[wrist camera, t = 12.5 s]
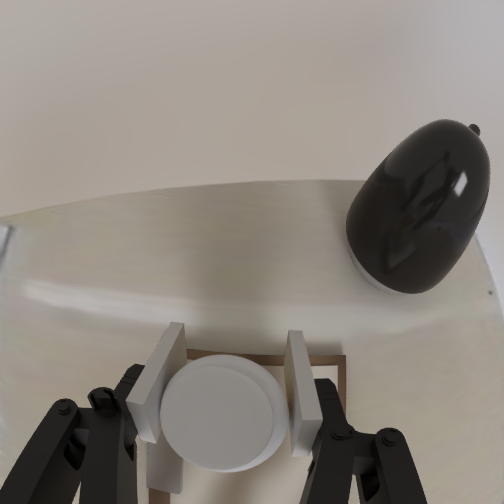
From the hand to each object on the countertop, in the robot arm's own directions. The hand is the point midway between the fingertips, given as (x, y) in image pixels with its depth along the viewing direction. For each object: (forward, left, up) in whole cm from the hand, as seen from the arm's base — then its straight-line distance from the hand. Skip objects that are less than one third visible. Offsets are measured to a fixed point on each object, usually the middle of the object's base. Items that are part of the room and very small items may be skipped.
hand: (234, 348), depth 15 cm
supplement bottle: (0, -4, -4) cm, 6 cm away
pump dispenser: (+13, +9, -5) cm, 17 cm away
